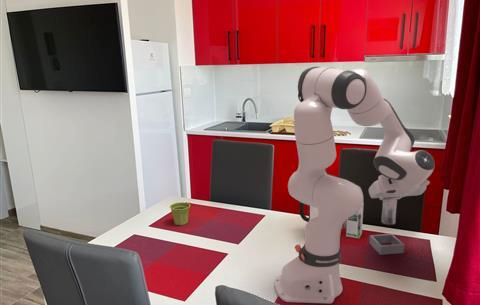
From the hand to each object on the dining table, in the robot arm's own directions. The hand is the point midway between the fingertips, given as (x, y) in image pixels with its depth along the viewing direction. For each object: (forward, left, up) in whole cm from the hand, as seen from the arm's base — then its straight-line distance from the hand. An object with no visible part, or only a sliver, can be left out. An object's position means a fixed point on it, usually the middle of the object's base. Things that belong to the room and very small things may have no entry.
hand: (389, 197), depth 147 cm
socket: (0, -1, -21) cm, 21 cm away
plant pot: (-83, +36, -21) cm, 93 cm away
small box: (-10, +21, -21) cm, 32 cm away
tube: (0, -1, -10) cm, 10 cm away
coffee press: (-23, +12, -21) cm, 34 cm away
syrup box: (-8, +12, -21) cm, 26 cm away
